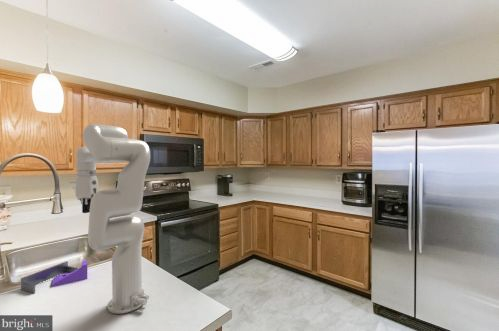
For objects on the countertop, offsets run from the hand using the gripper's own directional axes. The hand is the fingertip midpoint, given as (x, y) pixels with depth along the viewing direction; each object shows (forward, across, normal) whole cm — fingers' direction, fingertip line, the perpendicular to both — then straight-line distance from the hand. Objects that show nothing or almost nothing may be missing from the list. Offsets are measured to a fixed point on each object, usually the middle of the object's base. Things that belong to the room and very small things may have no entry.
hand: (86, 212), depth 114 cm
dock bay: (+27, +2, +14) cm, 31 cm away
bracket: (+28, -3, +10) cm, 30 cm away
